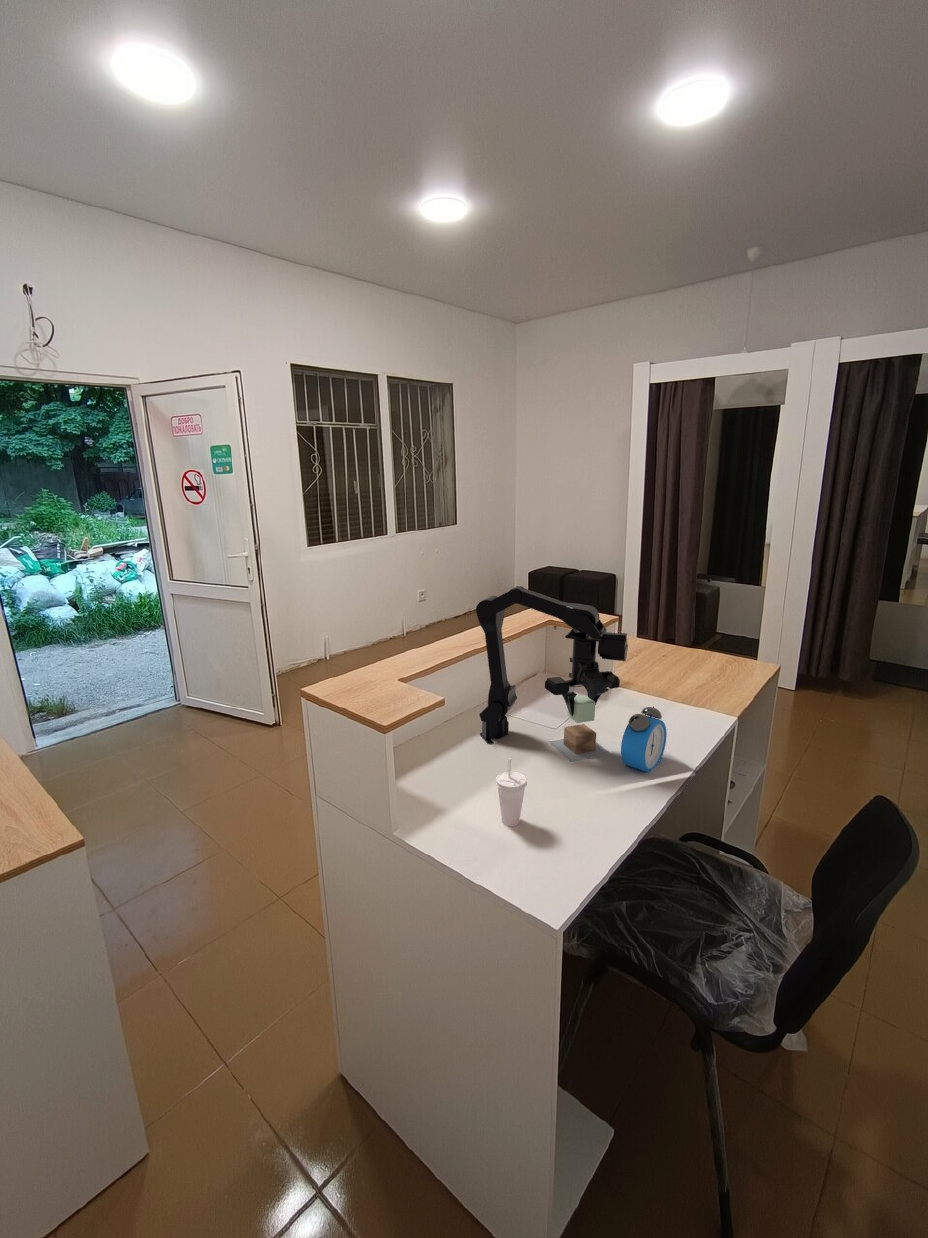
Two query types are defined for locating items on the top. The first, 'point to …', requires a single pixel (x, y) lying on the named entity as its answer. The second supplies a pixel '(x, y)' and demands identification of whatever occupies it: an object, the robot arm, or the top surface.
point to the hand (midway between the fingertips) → (580, 714)
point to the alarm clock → (644, 740)
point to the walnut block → (579, 738)
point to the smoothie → (511, 795)
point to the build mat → (574, 757)
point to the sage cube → (583, 709)
